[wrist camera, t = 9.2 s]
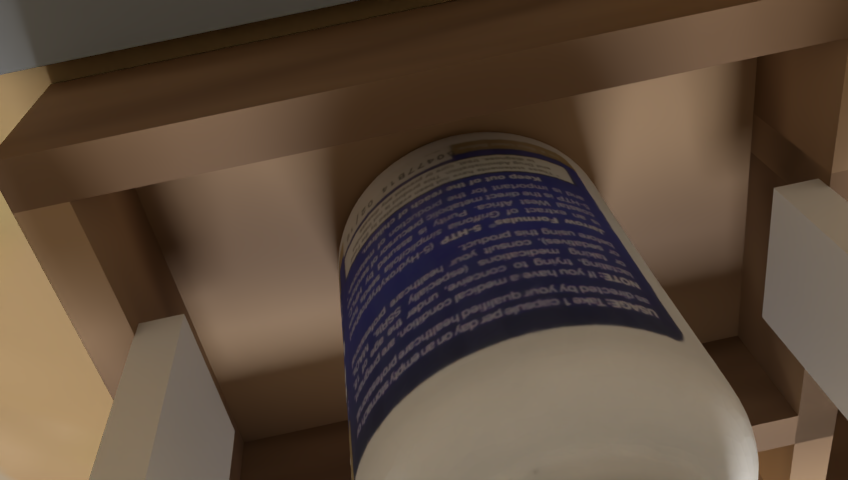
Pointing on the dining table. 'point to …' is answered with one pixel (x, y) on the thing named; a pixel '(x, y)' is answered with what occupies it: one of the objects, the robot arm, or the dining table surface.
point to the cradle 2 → (844, 450)
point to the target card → (120, 24)
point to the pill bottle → (519, 331)
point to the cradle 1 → (396, 137)
